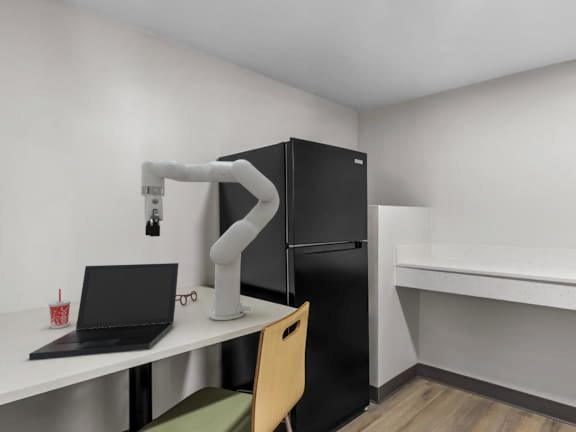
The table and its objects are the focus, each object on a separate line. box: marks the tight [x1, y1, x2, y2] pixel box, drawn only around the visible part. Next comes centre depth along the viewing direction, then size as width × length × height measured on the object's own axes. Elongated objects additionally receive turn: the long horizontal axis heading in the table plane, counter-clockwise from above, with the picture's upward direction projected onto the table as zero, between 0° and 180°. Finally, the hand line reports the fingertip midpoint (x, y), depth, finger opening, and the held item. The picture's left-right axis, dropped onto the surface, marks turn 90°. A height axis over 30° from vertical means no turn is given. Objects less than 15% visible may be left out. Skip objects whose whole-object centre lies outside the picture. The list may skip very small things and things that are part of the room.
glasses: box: [175, 290, 198, 306], centre depth 162 cm, size 13×13×5 cm
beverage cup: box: [48, 288, 72, 330], centre depth 128 cm, size 6×6×14 cm
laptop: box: [28, 322, 174, 361], centre depth 112 cm, size 22×30×2 cm
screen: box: [75, 262, 179, 330], centre depth 126 cm, size 22×30×1 cm
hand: (152, 235), depth 134 cm, fingers open, 9 cm apart
